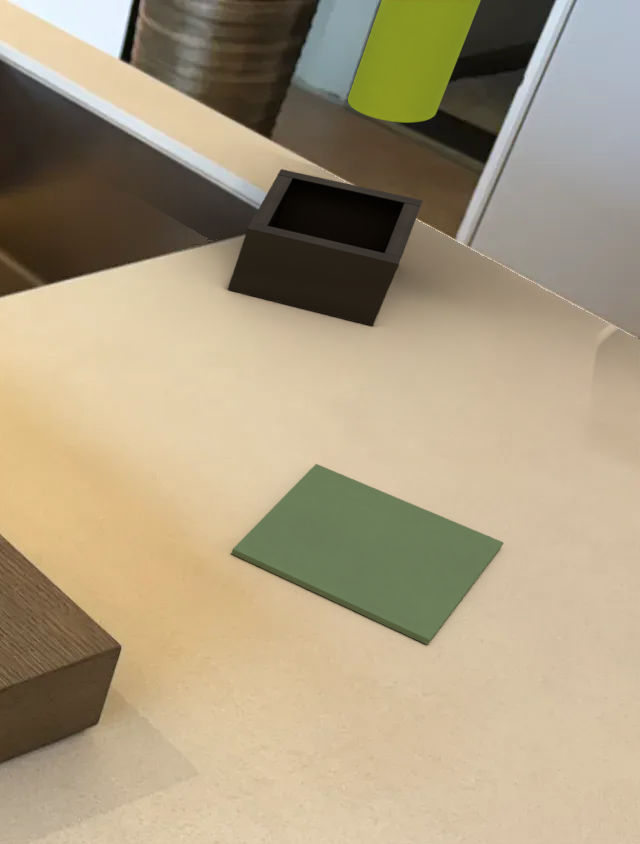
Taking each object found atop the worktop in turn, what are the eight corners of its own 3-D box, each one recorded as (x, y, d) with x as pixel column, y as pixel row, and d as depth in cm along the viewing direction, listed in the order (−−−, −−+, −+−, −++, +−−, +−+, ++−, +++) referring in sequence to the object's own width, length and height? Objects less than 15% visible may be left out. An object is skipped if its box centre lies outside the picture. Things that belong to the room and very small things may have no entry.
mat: (501, 547, 83) (504, 542, 83) (427, 645, 77) (430, 639, 77) (313, 468, 89) (316, 463, 88) (230, 553, 82) (232, 548, 82)
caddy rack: (372, 326, 102) (399, 263, 98) (227, 289, 105) (247, 228, 101) (397, 260, 109) (423, 200, 105) (260, 228, 112) (280, 168, 109)
